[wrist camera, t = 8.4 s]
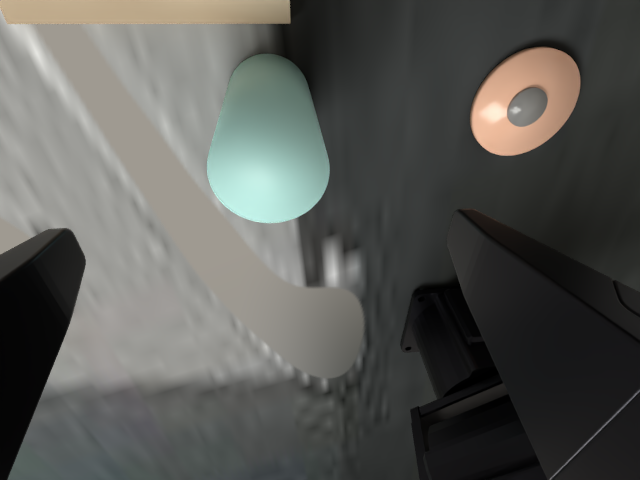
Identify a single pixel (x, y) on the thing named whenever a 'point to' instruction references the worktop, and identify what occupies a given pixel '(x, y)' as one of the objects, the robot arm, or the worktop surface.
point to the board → (146, 11)
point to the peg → (268, 143)
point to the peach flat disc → (524, 100)
